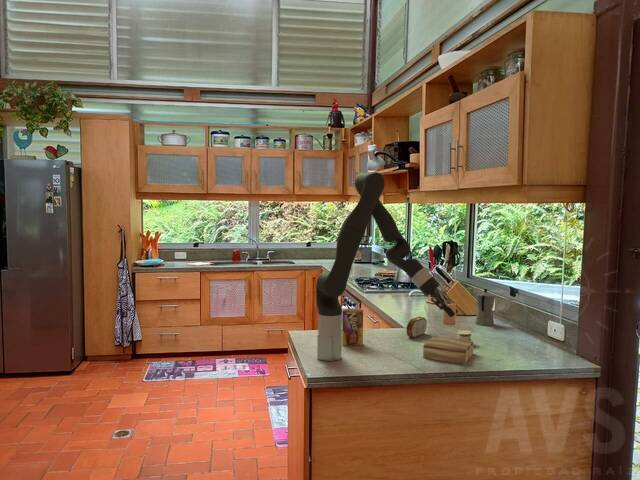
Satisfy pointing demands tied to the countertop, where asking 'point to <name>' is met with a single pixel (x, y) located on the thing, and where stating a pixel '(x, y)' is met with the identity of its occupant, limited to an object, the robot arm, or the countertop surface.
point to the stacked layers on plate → (464, 335)
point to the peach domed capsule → (447, 318)
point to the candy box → (352, 326)
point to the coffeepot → (485, 308)
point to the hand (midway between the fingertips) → (454, 314)
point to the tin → (416, 327)
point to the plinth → (448, 349)
